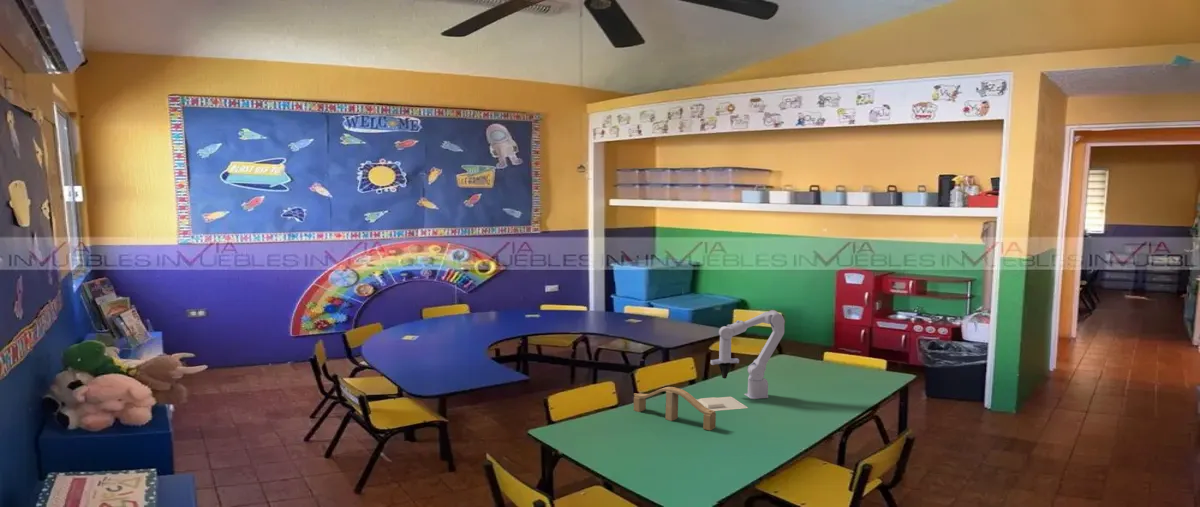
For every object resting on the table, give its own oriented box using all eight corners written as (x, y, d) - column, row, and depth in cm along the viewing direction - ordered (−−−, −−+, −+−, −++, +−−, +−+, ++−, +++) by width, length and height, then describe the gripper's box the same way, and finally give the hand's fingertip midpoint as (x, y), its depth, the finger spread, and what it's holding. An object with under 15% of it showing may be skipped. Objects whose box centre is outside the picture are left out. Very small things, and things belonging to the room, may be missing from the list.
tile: (714, 397, 344) (699, 398, 342) (723, 403, 335) (708, 404, 333) (714, 400, 345) (699, 401, 342) (723, 407, 335) (708, 408, 333)
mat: (731, 397, 351) (731, 396, 351) (748, 408, 334) (748, 407, 334) (689, 400, 345) (689, 399, 345) (705, 412, 328) (705, 411, 328)
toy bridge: (716, 428, 308) (717, 396, 306) (709, 432, 303) (710, 399, 302) (637, 407, 335) (637, 377, 333) (630, 410, 330) (630, 380, 329)
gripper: (734, 348, 356) (733, 374, 357) (708, 349, 352) (707, 376, 353) (741, 351, 349) (740, 378, 351) (714, 353, 345) (713, 380, 347)
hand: (724, 377), depth 352 cm, fingers closed
